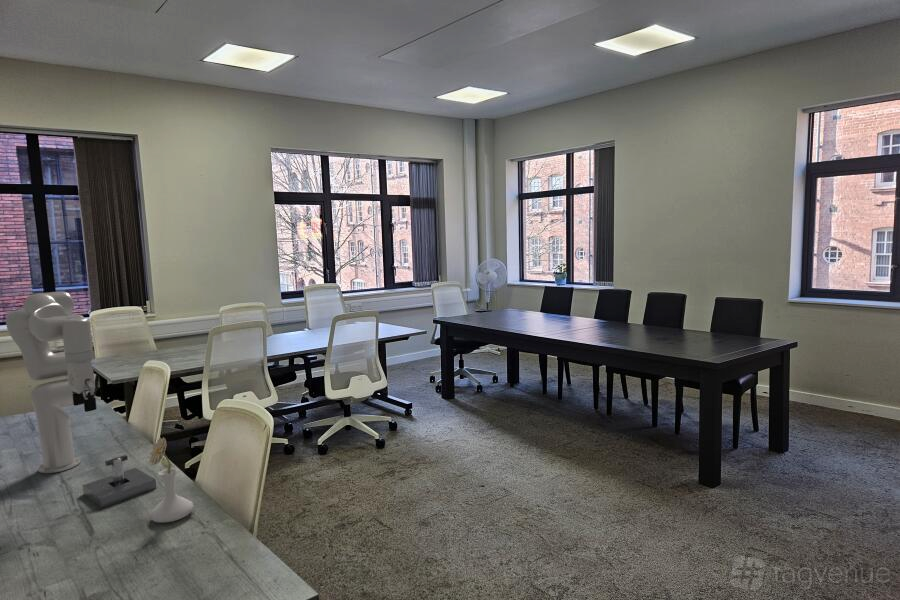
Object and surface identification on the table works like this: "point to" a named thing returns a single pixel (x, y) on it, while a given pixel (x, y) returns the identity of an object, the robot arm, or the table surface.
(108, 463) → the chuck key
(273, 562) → the table surface
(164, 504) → the flower in vase
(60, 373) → the robot arm
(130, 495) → the block
